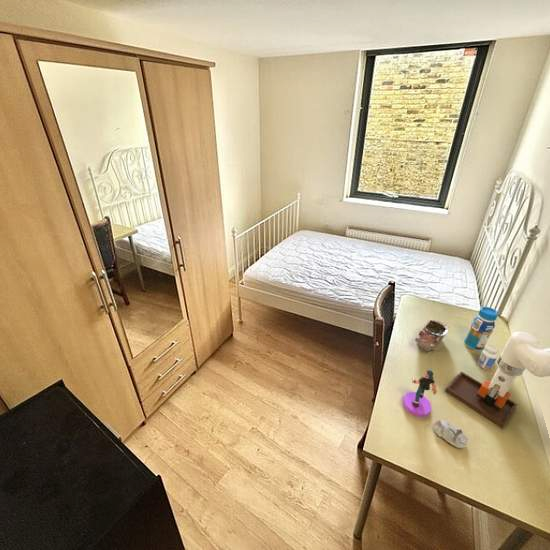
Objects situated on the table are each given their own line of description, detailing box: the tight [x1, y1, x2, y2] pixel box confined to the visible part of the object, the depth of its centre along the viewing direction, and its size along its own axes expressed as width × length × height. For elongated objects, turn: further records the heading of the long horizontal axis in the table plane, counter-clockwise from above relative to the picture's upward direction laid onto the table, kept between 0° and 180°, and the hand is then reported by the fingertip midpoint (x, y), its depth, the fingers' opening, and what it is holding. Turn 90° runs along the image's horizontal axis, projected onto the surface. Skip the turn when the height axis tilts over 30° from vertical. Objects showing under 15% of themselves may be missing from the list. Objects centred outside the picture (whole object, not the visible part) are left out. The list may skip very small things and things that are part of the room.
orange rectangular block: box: [476, 379, 511, 410], centre depth 108 cm, size 8×4×6 cm, turn 39°
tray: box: [444, 371, 518, 429], centre depth 111 cm, size 20×14×2 cm
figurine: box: [402, 369, 438, 418], centre depth 104 cm, size 9×9×18 cm
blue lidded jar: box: [463, 306, 499, 352], centre depth 133 cm, size 8×8×20 cm
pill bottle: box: [476, 344, 499, 371], centre depth 124 cm, size 6×5×10 cm
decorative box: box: [414, 318, 450, 352], centre depth 134 cm, size 13×20×10 cm, turn 128°
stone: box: [433, 419, 468, 449], centre depth 98 cm, size 10×7×3 cm
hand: (490, 398), depth 109 cm, fingers closed on orange rectangular block, 4 cm apart
